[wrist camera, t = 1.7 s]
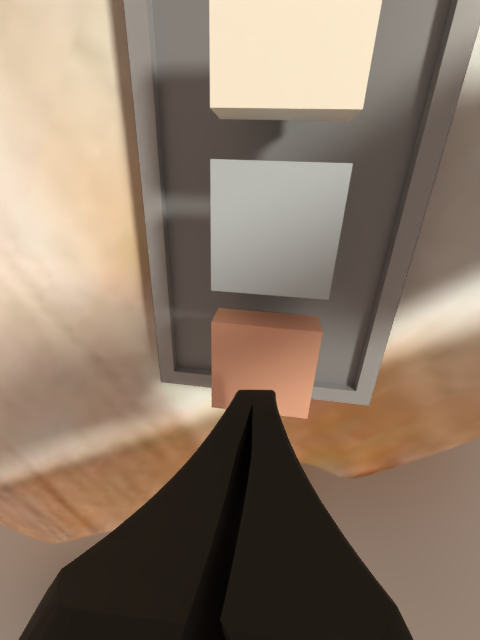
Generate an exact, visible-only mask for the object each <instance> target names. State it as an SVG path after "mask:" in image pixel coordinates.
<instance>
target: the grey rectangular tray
mask: <svg viewBox="0 0 480 640" xmlns="http://www.w3.org/2000/svg"><path fill="white" fill-rule="evenodd" d="M123 1H124V11H125V21H126V32H127V42H128V52H129V62H130V72H131V82H132V93H133V103H134V113H135V123H136V133H137V143H138V154H139V164H140V174H141V184H142V194H143V204H144V215H145V225H146V235H147V245H148V255H149V265H150V276H151V286H152V296H153V306H154V316H155V326H156V337H157V347H158V357H159V367H160V377H161V382H166V383H175V384H184V385H193V386H202V387H210V388H212V355H211V322H212V320H213V318H214V316H215V314H216V312H217V310H218V308H225V309H237V310H242V309H243V310H255V311H267V312H279V313H291V314H297V315H308V316H318V318H319V321H320V324H321V328H322V331H323V334H322V339H321V345H320V351H319V356H318V362H317V367H316V373H315V378H314V384H313V390H312V395H311V399H316V400H325V401H334V402H343V403H352V404H360V405H369V403H370V400H371V396H372V393H373V390H374V386H375V383H376V379H377V376H378V372H379V369H380V366H381V362H382V359H383V355H384V352H385V348H386V345H387V342H388V338H389V335H390V331H391V328H392V324H393V321H394V317H395V314H396V311H397V307H398V304H399V300H400V297H401V293H402V290H403V287H404V283H405V280H406V276H407V273H408V269H409V266H410V263H411V259H412V256H413V252H414V249H415V245H416V242H417V239H418V235H419V232H420V228H421V225H422V221H423V218H424V215H425V211H426V208H427V204H428V201H429V197H430V194H431V191H432V187H433V184H434V180H435V177H436V173H437V170H438V167H439V163H440V160H441V156H442V153H443V149H444V146H445V143H446V139H447V136H448V132H449V129H450V125H451V122H452V119H453V115H454V112H455V108H456V105H457V101H458V98H459V94H460V91H461V88H462V84H463V81H464V77H465V74H466V70H467V67H468V64H469V60H470V57H471V53H472V50H473V46H474V43H475V40H476V36H477V33H478V29H479V26H480V0H382V5H381V10H380V16H379V21H378V27H377V33H376V38H375V44H374V49H373V55H372V60H371V66H370V72H369V77H368V83H367V88H366V94H365V99H364V105H363V110H362V111H361V112H360V113H358V114H357V115H356V116H355V117H354V118H353V119H352V120H351V121H306V120H243V119H219V118H218V116H217V115H216V114H215V113H214V112H213V111H212V109H211V108H210V36H209V0H123ZM210 159H227V160H260V161H293V162H326V163H353V166H352V172H351V178H350V183H349V189H348V194H347V200H346V205H345V211H344V217H343V222H342V228H341V233H340V239H339V245H338V250H337V256H336V261H335V267H334V272H333V278H332V284H331V289H330V295H329V300H325V299H313V298H300V297H287V296H274V295H261V294H249V293H236V292H223V291H211V196H210Z"/></svg>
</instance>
